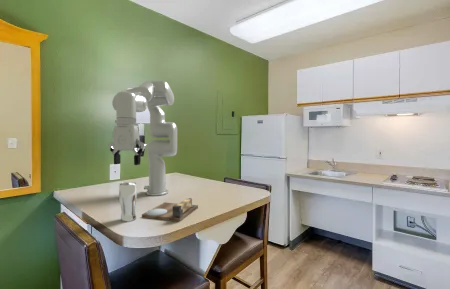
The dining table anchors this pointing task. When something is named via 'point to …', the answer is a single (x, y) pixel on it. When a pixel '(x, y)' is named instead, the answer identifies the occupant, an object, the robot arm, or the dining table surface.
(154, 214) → the felt pad
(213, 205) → the dining table surface
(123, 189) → the beer glass
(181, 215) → the seat board
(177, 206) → the leg
